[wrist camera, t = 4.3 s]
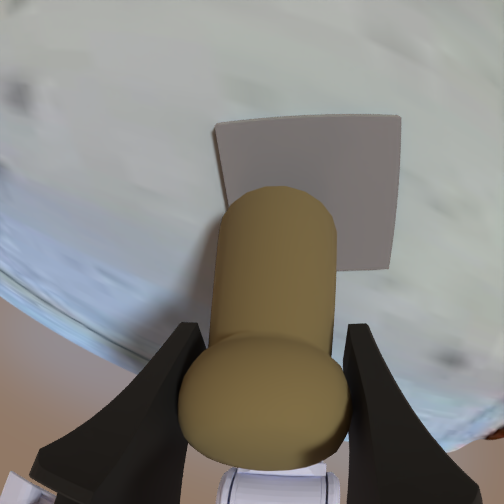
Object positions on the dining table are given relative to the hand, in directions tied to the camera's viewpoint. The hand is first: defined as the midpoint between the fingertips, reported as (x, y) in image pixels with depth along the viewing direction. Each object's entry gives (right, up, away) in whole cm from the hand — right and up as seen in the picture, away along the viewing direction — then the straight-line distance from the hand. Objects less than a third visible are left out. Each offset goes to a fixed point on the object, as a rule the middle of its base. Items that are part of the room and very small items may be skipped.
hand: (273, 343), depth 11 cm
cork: (+1, +4, +6) cm, 7 cm away
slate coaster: (+3, +7, +8) cm, 11 cm away
